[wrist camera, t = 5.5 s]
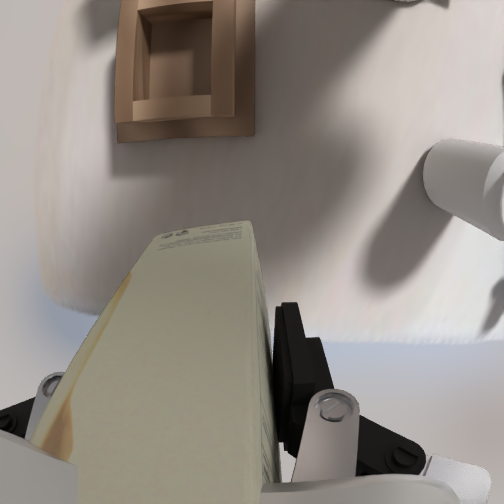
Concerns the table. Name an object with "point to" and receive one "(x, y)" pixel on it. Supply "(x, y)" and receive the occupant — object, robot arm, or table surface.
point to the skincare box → (174, 380)
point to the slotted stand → (185, 69)
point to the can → (468, 182)
